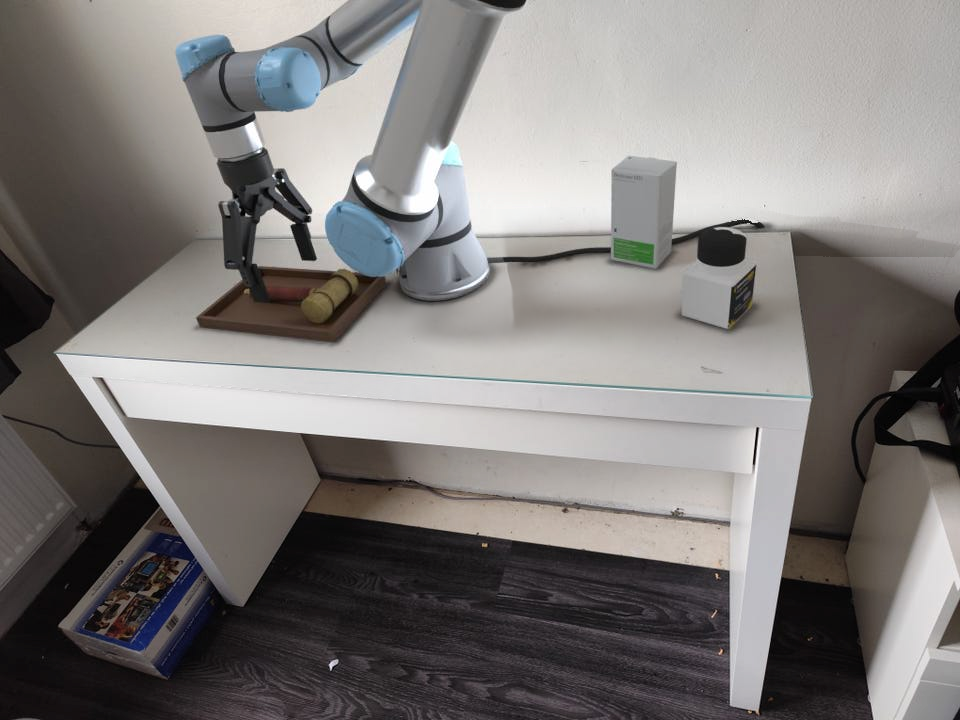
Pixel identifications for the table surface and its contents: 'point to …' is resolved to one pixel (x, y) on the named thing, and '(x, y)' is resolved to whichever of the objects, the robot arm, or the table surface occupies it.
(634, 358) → the table surface
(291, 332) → the tray
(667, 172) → the cosmetic box
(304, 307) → the gavel
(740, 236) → the medicine bottle
